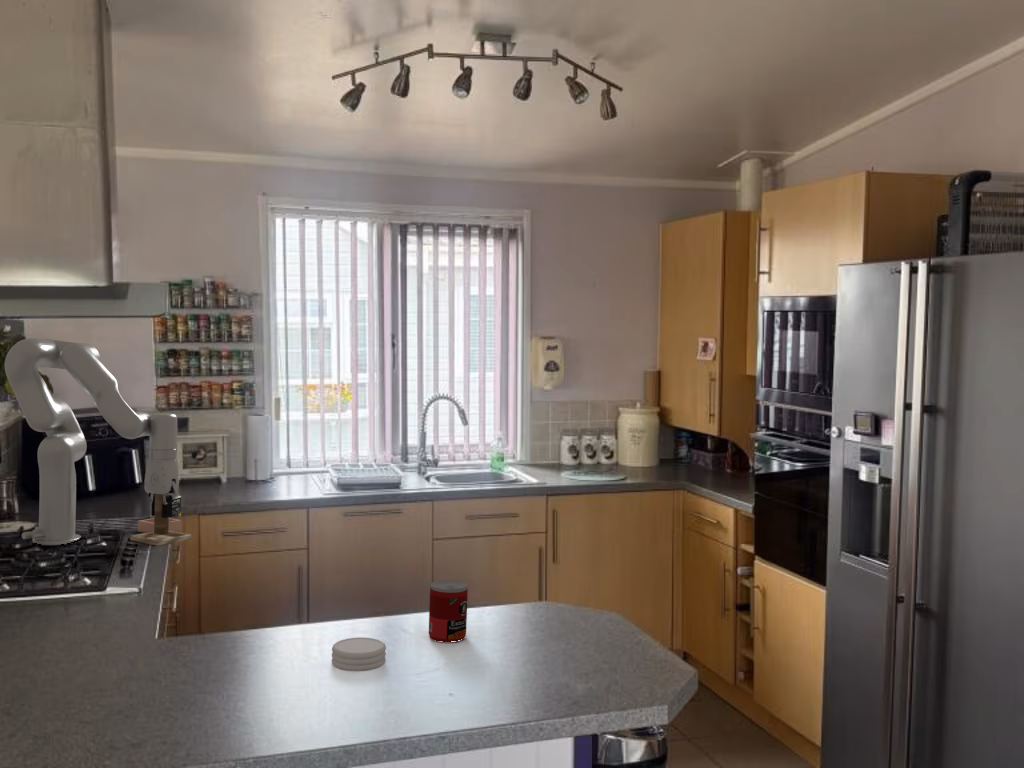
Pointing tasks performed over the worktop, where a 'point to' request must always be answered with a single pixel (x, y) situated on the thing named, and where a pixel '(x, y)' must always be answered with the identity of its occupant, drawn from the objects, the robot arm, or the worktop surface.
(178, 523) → the pink square box
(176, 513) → the medicine bottle
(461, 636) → the canned food
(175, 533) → the tray
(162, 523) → the dowel
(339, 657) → the coaster
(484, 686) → the worktop surface
